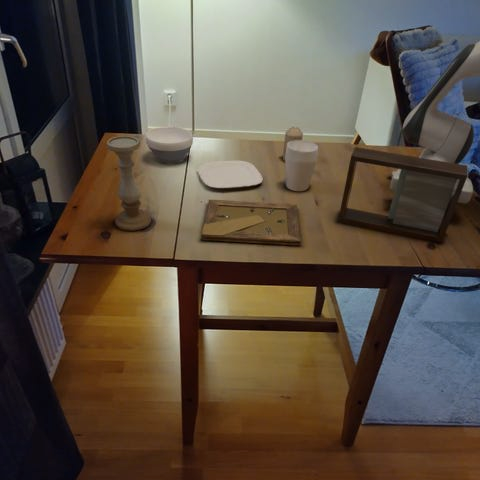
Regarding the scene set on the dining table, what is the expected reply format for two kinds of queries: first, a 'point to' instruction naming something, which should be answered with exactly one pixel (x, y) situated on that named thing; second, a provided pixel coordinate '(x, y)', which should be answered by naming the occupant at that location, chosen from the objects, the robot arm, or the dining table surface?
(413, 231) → the frame
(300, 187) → the cup
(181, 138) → the bowl
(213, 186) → the plate
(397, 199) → the door
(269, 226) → the picture frame
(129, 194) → the candle holder
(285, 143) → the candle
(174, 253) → the dining table surface
